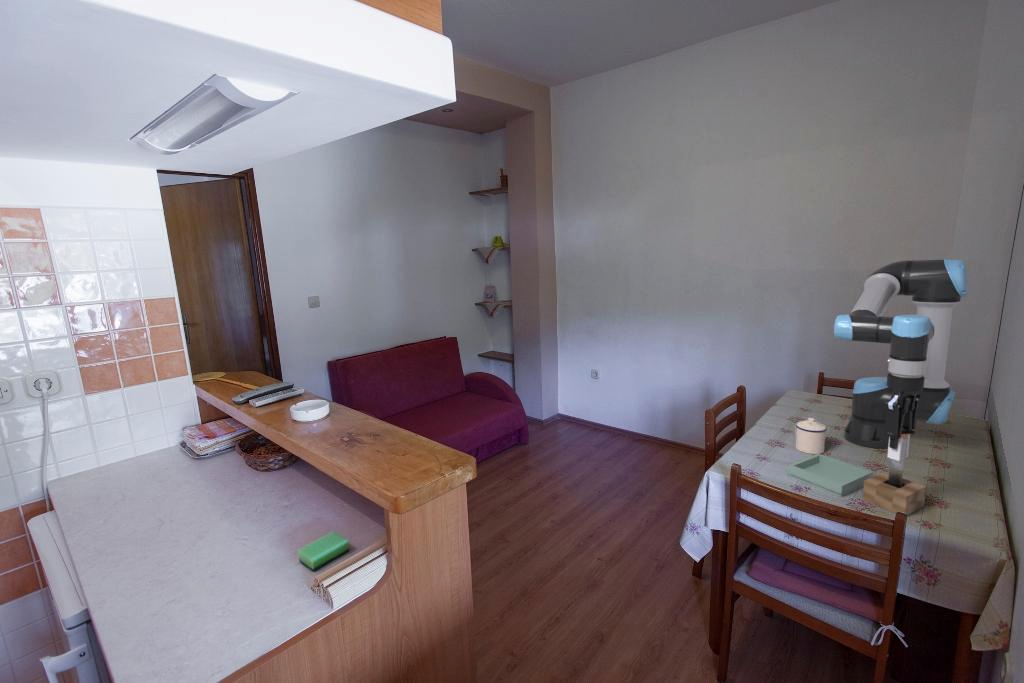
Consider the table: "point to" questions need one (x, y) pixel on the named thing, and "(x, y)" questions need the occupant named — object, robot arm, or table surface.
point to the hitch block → (894, 494)
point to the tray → (829, 474)
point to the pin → (897, 466)
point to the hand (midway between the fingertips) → (897, 456)
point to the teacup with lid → (810, 436)
